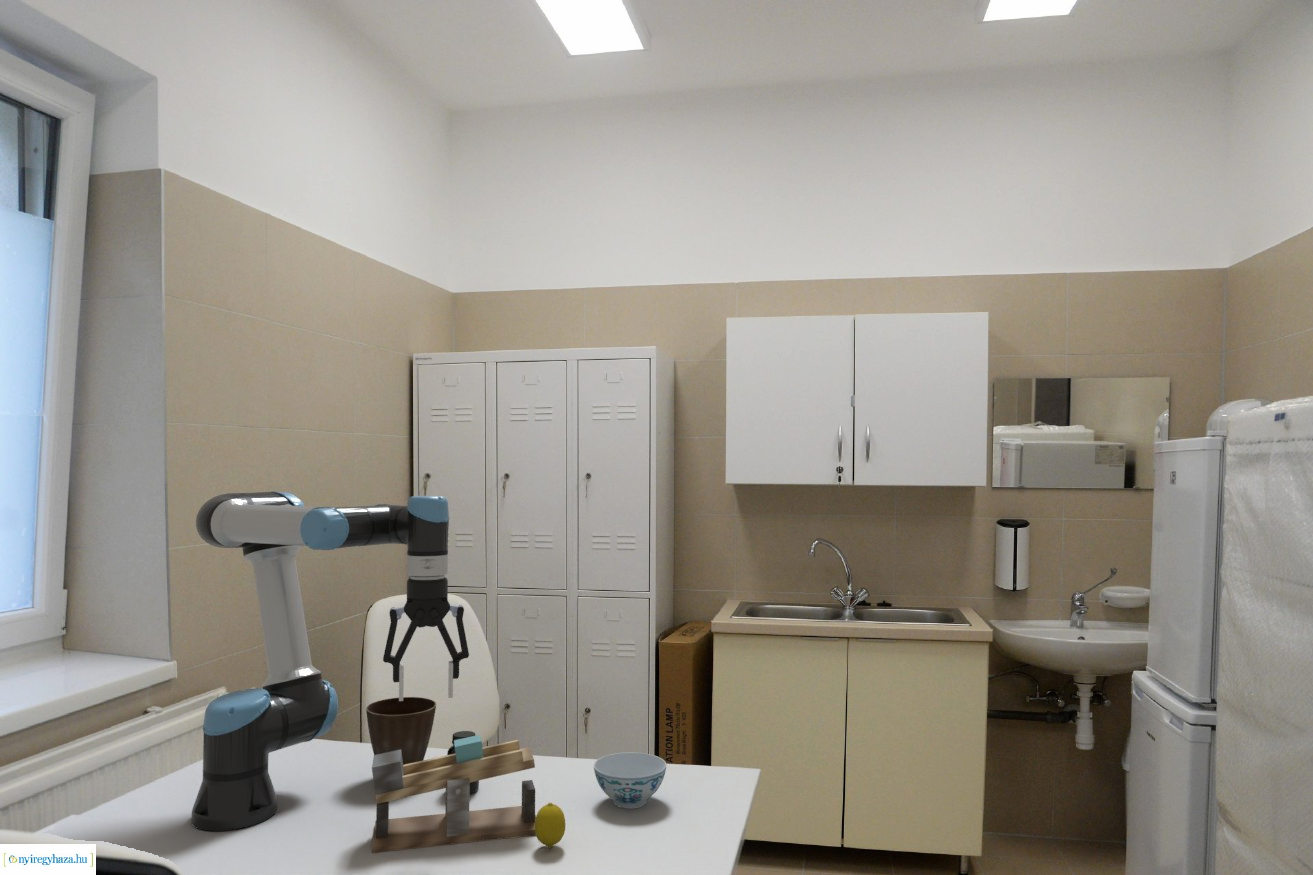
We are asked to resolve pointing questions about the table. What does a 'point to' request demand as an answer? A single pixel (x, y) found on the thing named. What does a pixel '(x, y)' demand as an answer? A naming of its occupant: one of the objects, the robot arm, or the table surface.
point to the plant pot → (401, 726)
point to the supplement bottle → (456, 736)
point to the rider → (468, 749)
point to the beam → (443, 770)
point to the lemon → (550, 825)
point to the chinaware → (630, 777)
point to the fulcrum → (455, 822)
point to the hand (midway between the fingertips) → (426, 697)
